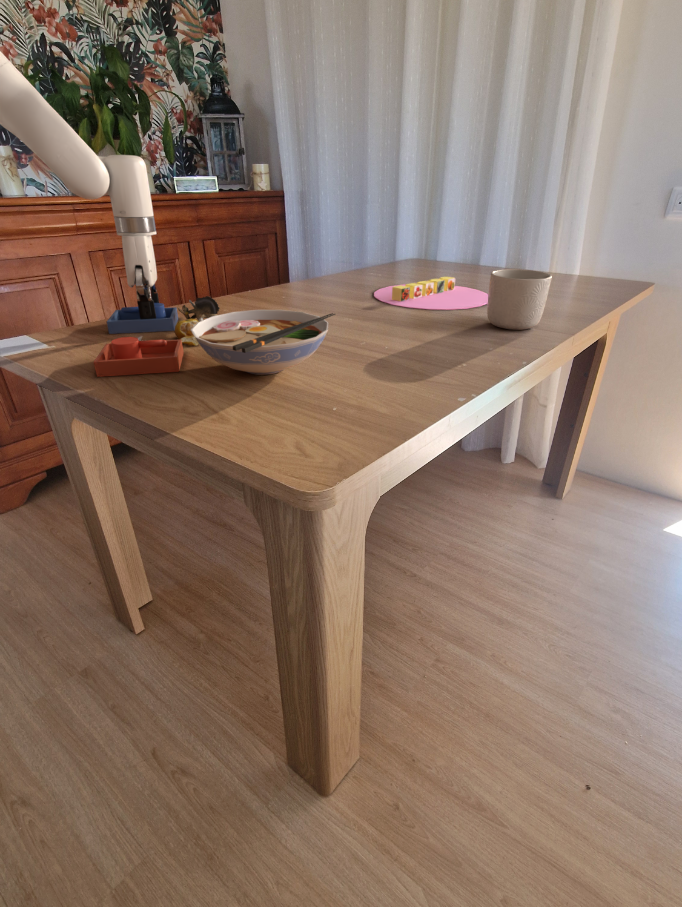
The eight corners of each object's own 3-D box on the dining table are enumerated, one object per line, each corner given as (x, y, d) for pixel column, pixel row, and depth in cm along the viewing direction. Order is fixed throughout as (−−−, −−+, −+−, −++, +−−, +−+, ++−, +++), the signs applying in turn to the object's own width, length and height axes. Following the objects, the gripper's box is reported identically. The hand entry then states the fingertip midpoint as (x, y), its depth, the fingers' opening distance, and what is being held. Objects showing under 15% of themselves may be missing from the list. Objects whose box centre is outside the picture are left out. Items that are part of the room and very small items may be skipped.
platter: (349, 294, 138) (349, 281, 136) (424, 279, 156) (425, 268, 154) (441, 316, 117) (442, 302, 115) (514, 296, 135) (517, 284, 134)
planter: (547, 323, 112) (558, 272, 107) (532, 336, 103) (543, 281, 98) (493, 315, 118) (501, 267, 113) (475, 327, 109) (482, 275, 104)
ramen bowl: (262, 339, 101) (259, 298, 97) (357, 360, 90) (358, 314, 86) (162, 376, 83) (153, 327, 79) (267, 407, 72) (263, 353, 68)
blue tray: (109, 334, 104) (106, 321, 103) (118, 321, 113) (115, 309, 111) (174, 330, 106) (172, 318, 105) (178, 318, 115) (176, 307, 114)
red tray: (97, 376, 82) (93, 361, 81) (109, 357, 91) (106, 343, 90) (179, 371, 85) (176, 356, 83) (183, 352, 93) (181, 339, 92)
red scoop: (114, 367, 85) (108, 345, 83) (118, 359, 89) (113, 337, 87) (168, 364, 87) (164, 342, 85) (171, 356, 90) (167, 334, 88)
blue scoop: (168, 320, 112) (164, 302, 110) (166, 325, 108) (162, 307, 106) (126, 322, 110) (122, 304, 108) (122, 327, 107) (118, 308, 105)
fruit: (187, 347, 96) (184, 329, 94) (164, 339, 101) (161, 321, 99) (222, 338, 101) (220, 320, 99) (198, 330, 106) (196, 313, 104)
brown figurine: (179, 326, 105) (220, 318, 104) (174, 293, 106) (215, 285, 105) (193, 336, 113) (231, 329, 112) (189, 306, 113) (227, 298, 112)
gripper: (123, 222, 107) (138, 307, 115) (107, 230, 92) (126, 326, 100) (159, 222, 108) (172, 306, 117) (149, 230, 93) (164, 325, 102)
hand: (150, 315), depth 108 cm, fingers open, 6 cm apart
